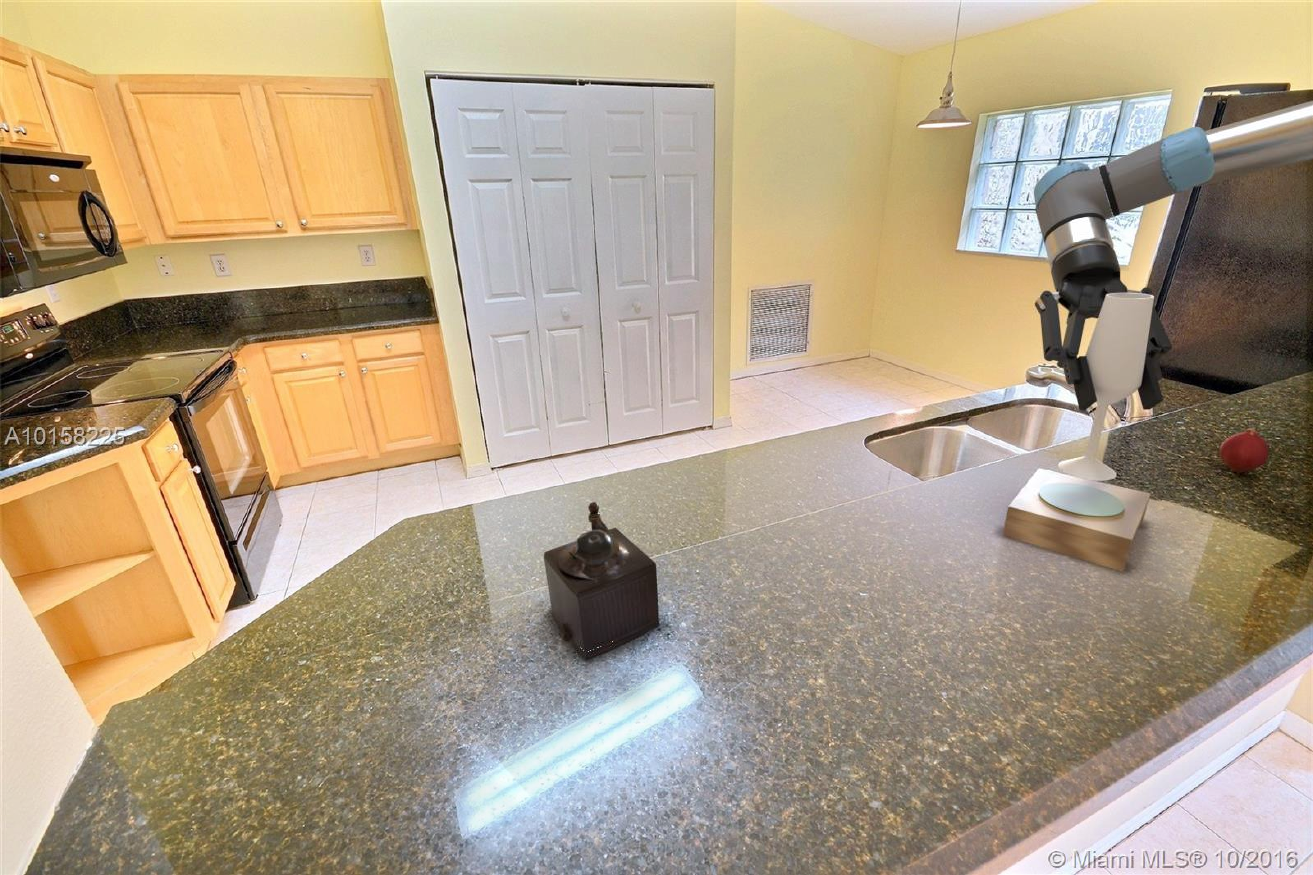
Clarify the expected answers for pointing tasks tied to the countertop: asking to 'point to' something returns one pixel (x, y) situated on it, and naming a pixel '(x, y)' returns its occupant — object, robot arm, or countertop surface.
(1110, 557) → the wooden display base
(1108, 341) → the champagne flute
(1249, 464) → the onion
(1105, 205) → the robot arm
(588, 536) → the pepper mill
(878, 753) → the countertop surface
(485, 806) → the countertop surface
